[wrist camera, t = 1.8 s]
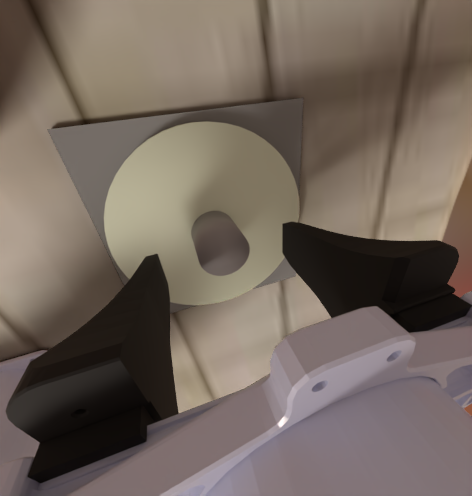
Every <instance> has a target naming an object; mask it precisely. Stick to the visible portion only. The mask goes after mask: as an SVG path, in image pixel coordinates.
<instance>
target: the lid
mask: <svg viewBox="0 0 472 496" xmlns="http://www.w3.org/2000/svg"><path fill="white" fill-rule="evenodd" d="M299 212H300V209H299V195H298V189H297V185H296V182H295V179H294V176H293V174H292V172H291V170H290V168H289V166H288V165H287V163H286V161H285V160H284V158H283V157H282V156H281V155H280V153H279V152H278V151H277V150H276V149H275V148H274V147H273V146H272V145H271V144H269V143H268V142H267V141H266V140H265V139H263V138H261V137H260V136H258V135H257V134H255V133H253V132H251V131H249V130H246V129H244V128H242V127H239V126H235V125H231V124H227V123H220V122H209V121H204V122H190V123H186V124H181V125H176V126H174V127H171V128H168V129H166V130H163V131H161V132H159V133H157V134H156V135H154V136H152V137H150V138H149V139H147V140H146V141H145V142H144V143H142V144H141V145H140V146H139V147H137V148H136V149H135V150H134V151H133V152H132V154H131V155H130V156H129V157H128V158H127V159H126V160H125V162H124V163H123V164H122V166H121V167H120V169H119V170H118V172H117V173H116V175H115V177H114V179H113V182H112V184H111V186H110V188H109V191H108V195H107V199H106V202H105V211H104V229H105V235H106V239H107V244H108V246H109V249H110V251H111V254H112V256H113V258H114V260H115V261H116V263H117V265H118V267H119V268H120V269H121V270H122V272H123V273H124V274H125V275H126V276H127V277H128V278H129V279H130V278H131V277H132V276H133V274H134V273H135V271H136V270H137V268H138V267H139V265H140V264H141V263H142V261H143V260H144V258H145V257H146V256H150V255H154V254H158V256H159V259H160V262H161V265H162V268H163V270H164V273H165V276H166V279H167V282H168V286H169V294H170V302H172V303H177V304H184V305H208V304H214V303H219V302H223V301H227V300H230V299H233V298H235V297H238V296H240V295H242V294H244V293H246V292H248V291H250V290H251V289H253V288H254V287H256V286H257V285H259V284H260V283H261V282H263V281H264V280H265V279H266V278H267V277H268V276H270V275H271V274H272V272H273V271H274V270H275V269H276V268H277V267H278V266H279V264H280V263H281V262H282V260H283V259H284V257H285V256H284V255H283V253H282V224H283V223H288V222H298V221H299Z"/></svg>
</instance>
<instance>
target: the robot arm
mask: <svg viewBox="0 0 472 496" xmlns="http://www.w3.org/2000/svg"><path fill="white" fill-rule="evenodd" d="M282 253H283V255H284V256H285V258H286V260H287V261H288V263H289V264H290V266H291V267H292V268H293V269H294V270H295V271H296V273H297V274H298V275H299V276H300V277H301V278H302V279H303V281H304V282H305V283H306V284H307V285H308V286H309V287H310V288H311V290H312V291H313V292H314V293H315V294H316V296H317V297H318V298H319V300H320V301H321V303H322V304H323V306H324V307H325V308H326V310H327V311H328V313H329V315H330V316H331V319H328V320H325V321H322V322H319V323H316V324H313V325H310V326H307V327H304V328H302V329H299V330H297V331H295V332H293V333H291V334H289V335H288V336H286V337H285V338H284V339H283V340H282V341H281V342H280V343H279V344H278V345H277V346H276V347H275V349H274V351H273V354H272V357H271V360H270V367H271V372H270V374H268V375H266V376H265V377H263V378H261V379H260V380H258V381H256V382H255V383H253V384H251V385H250V386H248V387H246V388H245V389H242V390H240V391H237V392H234V393H232V394H229V395H227V396H224V397H221V398H219V399H216V400H213V401H211V402H208V403H206V404H203V405H200V406H198V407H195V408H192V409H190V410H187V411H185V412H182V413H179V414H178V407H177V400H176V392H175V384H174V376H173V367H172V358H171V348H170V294H169V286H168V282H167V279H166V276H165V273H164V270H163V268H162V265H161V262H160V259H159V256H158V254H154V255H150V256H146V257H145V258H144V260H143V261H142V263H141V264H140V265H139V267H138V268H137V270H136V271H135V273H134V274H133V276H132V277H131V278H130V280H129V281H128V282H127V283H126V285H125V286H124V287H123V288H122V290H121V291H120V292H119V293H118V294H117V295H116V296H115V298H114V299H113V300H112V301H111V302H110V303H109V304H108V305H107V306H106V307H105V308H104V309H102V310H101V311H100V312H99V313H98V314H97V315H96V316H94V317H93V318H92V319H91V320H90V321H89V322H87V323H86V324H85V325H84V326H82V327H81V328H80V329H78V330H77V331H76V332H74V333H73V334H72V335H70V336H69V337H68V338H66V339H65V340H63V341H62V342H60V343H59V344H57V345H56V346H54V347H53V348H51V349H50V350H48V351H47V350H40V351H37V352H34V353H30V354H27V355H23V356H20V357H17V358H13V359H10V360H6V361H3V362H0V496H472V416H471V415H470V414H468V413H467V412H466V411H465V410H464V409H463V408H465V407H467V406H468V405H470V404H472V291H471V292H468V293H466V294H464V295H463V296H462V297H461V298H459V297H457V296H456V295H454V294H452V293H454V292H455V289H454V288H453V287H451V286H449V285H448V284H447V283H448V281H449V279H450V277H451V275H452V273H453V271H454V269H455V268H456V265H457V263H458V258H459V254H458V251H457V249H456V248H455V247H453V246H451V245H448V244H446V243H444V242H441V241H437V240H434V241H390V240H376V239H367V238H359V237H353V236H348V235H343V234H338V233H334V232H330V231H326V230H323V229H319V228H316V227H312V226H309V225H305V224H302V223H298V222H288V223H283V224H282Z"/></svg>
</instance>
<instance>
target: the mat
mask: <svg viewBox="0 0 472 496" xmlns="http://www.w3.org/2000/svg"><path fill="white" fill-rule="evenodd" d="M302 119H303V98H298V99H289V100H281V101H273V102H265V103H257V104H249V105H241V106H233V107H225V108H217V109H208V110H200V111H192V112H184V113H176V114H168V115H160V116H152V117H144V118H135V119H127V120H119V121H111V122H103V123H95V124H87V125H79V126H71V127H63V128H54V129H47V130H48V132H49V134H50V136H51V138H52V140H53V142H54V144H55V146H56V148H57V150H58V152H59V154H60V156H61V158H62V161H63V163H64V165H65V167H66V169H67V171H68V173H69V175H70V177H71V179H72V181H73V183H74V185H75V187H76V189H77V191H78V193H79V195H80V197H81V199H82V201H83V203H84V205H85V207H86V209H87V211H88V213H89V215H90V217H91V219H92V221H93V224H94V226H95V228H96V230H97V232H98V234H99V236H100V238H101V240H102V242H103V244H104V246H105V248H106V250H107V252H108V254H109V256H110V258H111V260H112V262H113V264H114V266H115V268H116V270H117V272H118V274H119V276H120V278H121V280H122V282H123V284H124V286H125V285H126V283H127V282H128V281H129V280H130V279H129V278H128V277H127V276H126V275H125V274H124V273H123V272H122V270H121V269H120V268H119V267H118V265H117V263H116V261H115V260H114V258H113V256H112V254H111V251H110V249H109V246H108V244H107V239H106V235H105V229H104V211H105V202H106V199H107V195H108V191H109V188H110V186H111V184H112V182H113V179H114V177H115V175H116V173H117V172H118V170H119V169H120V167H121V166H122V164H123V163H124V162H125V160H126V159H127V158H128V157H129V156H130V155H131V154H132V152H133V151H134V150H135V149H136V148H137V147H139V146H140V145H141V144H142V143H144V142H145V141H146V140H147V139H149V138H150V137H152V136H154V135H156V134H157V133H159V132H161V131H163V130H166V129H168V128H171V127H174V126H176V125H181V124H186V123H190V122H204V121H209V122H220V123H227V124H231V125H235V126H239V127H242V128H244V129H246V130H249V131H251V132H253V133H255V134H257V135H258V136H260V137H261V138H263V139H265V140H266V141H267V142H268V143H269V144H271V145H272V146H273V147H274V148H275V149H276V150H277V151H278V152H279V153H280V155H281V156H282V157H283V158H284V160H285V161H286V163H287V165H288V166H289V168H290V170H291V172H292V174H293V176H294V179H295V182H296V185H297V189H298V195H299V188H300V165H301V142H302ZM295 276H296V271H295V270H294V269H293V268H292V267H291V266H290V264H289V263H288V261H287V260H286V258H285V257H284V259H283V260H282V262H281V263H280V264H279V266H278V267H277V268H276V269H275V270H274V271H273V272H272V274H271V275H270V276H268V277H267V278H266V279H265V280H264V281H263V282H261V283H260V284H259V285H257V286H256V287H254V288H258V287H261V286H264V285H268V284H271V283H275V282H278V281H281V280H285V279H288V278H291V277H295ZM254 288H253V289H254ZM194 306H197V305H184V304H177V303H172V302H170V313H173V312H177V311H180V310H183V309H187V308H190V307H194Z"/></svg>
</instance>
